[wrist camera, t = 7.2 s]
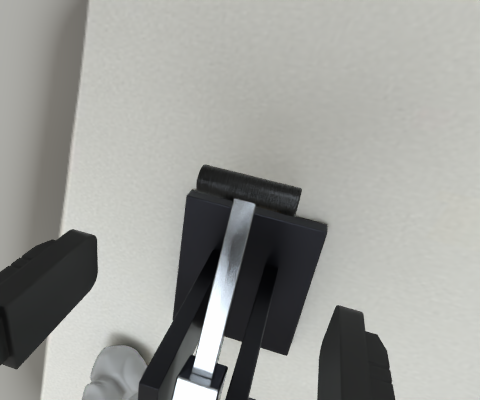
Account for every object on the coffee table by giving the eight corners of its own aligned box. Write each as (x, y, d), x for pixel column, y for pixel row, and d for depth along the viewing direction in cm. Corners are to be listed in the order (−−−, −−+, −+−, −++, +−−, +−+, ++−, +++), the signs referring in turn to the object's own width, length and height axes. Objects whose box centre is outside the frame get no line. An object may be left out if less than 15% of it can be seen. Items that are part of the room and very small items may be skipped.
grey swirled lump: (140, 330, 34) (89, 408, 27) (169, 381, 36) (129, 466, 29) (95, 337, 36) (37, 411, 29) (126, 385, 38) (78, 465, 31)
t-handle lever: (209, 165, 19) (198, 162, 17) (301, 188, 19) (302, 188, 16) (155, 392, 20) (137, 420, 18) (240, 421, 20) (233, 454, 17)
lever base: (192, 189, 26) (86, 304, 15) (327, 224, 25) (323, 379, 14) (177, 310, 32) (91, 463, 20) (288, 345, 30) (262, 528, 19)
